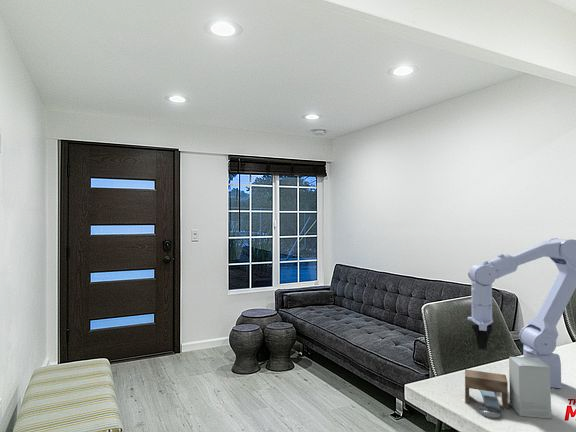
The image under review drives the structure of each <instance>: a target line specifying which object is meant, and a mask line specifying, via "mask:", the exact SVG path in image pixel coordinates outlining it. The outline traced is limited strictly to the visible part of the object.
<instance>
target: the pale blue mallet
mask: <svg viewBox="0 0 576 432" xmlns="http://www.w3.org/2000/svg"><path fill="white" fill-rule="evenodd" d="M479 391H480V394H481V398H482V400H483V404H484V406H490V407H494V408H497V409H499V410H500V403H499V401H498V399H497V397H496V394H495V392H491V391H484V390H479Z"/></svg>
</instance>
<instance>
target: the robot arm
mask: <svg viewBox="0 0 576 432" xmlns="http://www.w3.org/2000/svg"><path fill="white" fill-rule="evenodd" d="M543 257H544V258H545V257H546V258H549V259H550V260H551V261H552V262H553V263H554V264H555V266H556V267H557V269H558V274H557V276H556V278H555V280H554V282H553V284H552V286H551V287H550V289H549V291H548V294H547V295H546V297H545V299H544V301H543V303H542V305H541V307H540V309H539V311H538V313H537V315H536V316H535V317H534V318H532V319H530V320H528V322H527V324H526V325H524V327H522V328H521V329H520V331H519V335H518V337H519V340H520V342H521V344H523V349H522V350H523V357H529V358H539V359H540V360H541V361H543V362H544V363H545V364H547V365H548V366H549V367H550V381H551V388H553V389H554V388H555V389H563V387H562V362H561V357H560V355H559V354H558V353H553V352H554V351H555V350H556V349H557V340H558V337H559V332H558V330H557V325H558V323H559V321H560V319H561V317H562V315H563V314H564V311H565V309H566V307H567V306H568V303H569V302H570V300H571V299H572V298H571V297H572V296H573V295H574V293H575V290H576V239H572V238H571V239H569V238H568V239H564V238H557V237H556V238H555V237H554V238H551V239H548V240H543V241H541V242H540V243H537V244H535V245H533V246H530V247H529V248H527V249H526V248H525V249H524V250H522V251H520V252H517V253H515V254H513V255H510V254H508V253H507V254H506V253H505V254H503V253H500V254H497V257H496V258H493V259H491V260H483V264H479V263H477V264H474V265H472V266H471V267H470V268H469V272H467V277H468V278H469V280H470V281H471V287H470V288H471V289H470V291H471V294H470V295H471V302H470V303H471V316H467V321H472V322H473V323H471V328H472V330H473V332H474V335H475V339H476V345H477V348H478V350H485V351H486V350H487V348H488V343H489V338H490V335H491V333H492V331H493V325H492V323H494V319H493V283H495V280H498V279H500V278H502V277H504V276H506V275H510V274H512V273H514V272H516V271H517V270H518V266H521V265H524V264H526V263H529V262H532V261H536V260H538V259H541V258H543Z"/></svg>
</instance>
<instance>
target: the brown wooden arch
mask: <svg viewBox="0 0 576 432" xmlns="http://www.w3.org/2000/svg"><path fill="white" fill-rule="evenodd" d="M508 386H509V385H508V380H507V375H506V374H503V373H502V374H501V373H496V372H495V373H494V372H486V371H480V370H473V369H467V368H465V369H464V399H465V400H464V402H465V403H466V404H470V389H472V390H478V391H480V390H484V391H491V392H494V393H499V394H501V404H502V409H503V410H509V402H508V401H509V398H508V397H509V394H508V393H509V389H508V388H509V387H508Z"/></svg>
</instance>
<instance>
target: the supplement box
mask: <svg viewBox="0 0 576 432" xmlns="http://www.w3.org/2000/svg"><path fill="white" fill-rule="evenodd" d="M508 357H509V358H508V359H509V361H508V362H509V363H508V364H509V366H508V367H509V369H508V374H509V376H508V377H509V405H510V406H511V407H512V408H513V410H514V411H515V412H516V413H517V414H518V415H519V417H528V418H537V419H550V420H551V419H552V398H551V397H552V395H551V394H552V390H551V389H552V387H551V381H550V367H549V366H548V365H547V364H545V363H544V362H543V361H541V360H540V359H539V358H529V357H524V356H508Z"/></svg>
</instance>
